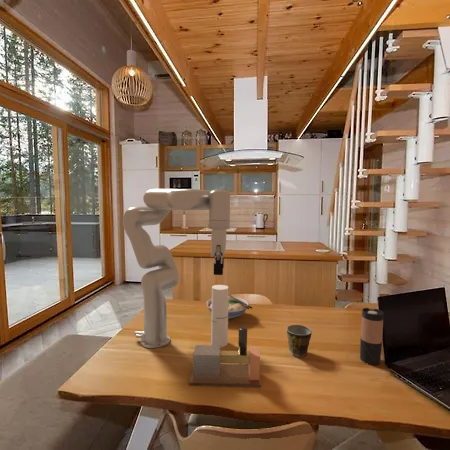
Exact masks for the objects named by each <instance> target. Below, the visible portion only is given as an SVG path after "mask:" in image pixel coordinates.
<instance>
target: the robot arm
mask: <svg viewBox="0 0 450 450" xmlns="http://www.w3.org/2000/svg"><path fill="white" fill-rule="evenodd" d="M142 199H143V200H142V201H143V202H144V205H145V206H132V207H129V208H128V209H126V211H124V213H123V216H122V225H123V230H124V232H125V234H126V236H127V237H128V239H129V241H130V244H131V247H132V250H133V252H134V256H135V259H136V262H137V264H138V266H139V267H140V268H141V269H143V270H148V269H153V268H157V269H153V270H150V271H148V272H146V273H145V274H144V275H143V276H142V277H141V280H140V283H141V289H142V295H143V330H142V331H140V330H138V331H137V330H135V331H134V336H135V339H140V345H141V346H142V347H144V348H147V349H159V348H162V347H165V346H167V345H168V344H169V343H170V342H171V337H170V335H168V333H167V332H168V331H167V330H168V329H167V324H168V323H167V318H168V317H167V316H168V315H167V299H166V297H165V295H164V293H163V292H164V291H166V290H169V289H172V288H174V287H176V286H177V285H178V284H179V282H180V273H179V270H178V268H177V266H176V262H175V260H174V257H173V254H172V252H171V250H170V249H169V248H168V247H167V246H166V245H164V244H155V245H154V243H153V242H152V238H151V236H150V235H149V234H150V233H148V232H147V230H146V229H144V228H143V227H145V226H156V225H159V224H161V223H162V222H163V221H164V220H165V218H167V216H168V215H169V213H170V212H171V211H178V210H180V211H207V210H208V213H209V214H208V217H209V218H208V230H211V238H210V239H211V241H210V257H211V258H213V257H214V259H213V260H214V263H213V276H223V274H224V266H225V265H224V264H225V263H224V262H225V258H224V257H225V255H226V249H227V248H226V247H227V230H230V229H231V193H230V191H228V190H227V189H226V190H225V189H223V190H221V189H218V190H217V189H213V190H211V189H209V190H208V189H199V188H197V189H196V188H195V189H194V188H190V189H189V188H188V189H187V188H185V189H184V188H183V189H182V188H181V189H179V188H152V189H149V190H147V191H145V193H144V195H143V197H142Z"/></svg>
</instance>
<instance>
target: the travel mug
mask: <svg viewBox="0 0 450 450" xmlns="http://www.w3.org/2000/svg"><path fill="white" fill-rule="evenodd" d="M360 326H361V327H360V339H359V340H360V342H359V343H360V345H359V347H360V348H359V358H360V361H361V360H362V361H361V362H363V361H364V362H365V363H364V362H363V363H364V364H366V363H368V364H367V365H370V364H372V365H371V366H378V365H380V364H379V363H381V356H382V348H383V347H382V345H383V335H384V334H383V332H384V329H383V328H384V311H383V310H380V309H377V308H374V309H372V308H371V309H370V308H369V307H365V308H362V311H361V325H360ZM377 364H378V365H377Z"/></svg>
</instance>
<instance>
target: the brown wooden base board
mask: <svg viewBox="0 0 450 450" xmlns="http://www.w3.org/2000/svg"><path fill="white" fill-rule="evenodd" d="M220 351H221V347H220V345H212V344H195V347H194V350H193V355H192V357H193V359H192V360H193V361H192V369H191V373H190V378H189V382H188V385H189V386H195V387H196V386H198V387H200V386H201V387H229V388H230V387H234V388H235V387H237V388H261V385H262V384H261V379H260V378H259V380H250V377H249V364H230V363H220Z"/></svg>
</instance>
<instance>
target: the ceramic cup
mask: <svg viewBox="0 0 450 450" xmlns="http://www.w3.org/2000/svg"><path fill="white" fill-rule="evenodd" d="M312 333H313V332H312V329H311V328H310V327H308V326H306V325H302V324H290V325H288V326H287V327H286V336H287V341H288V350H289V353H290V354H291V355H292V356H293V357H297V358H303V357H304V356H305V357H306V356H307V354H308V350H309V346H310V341H311V337H312Z"/></svg>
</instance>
